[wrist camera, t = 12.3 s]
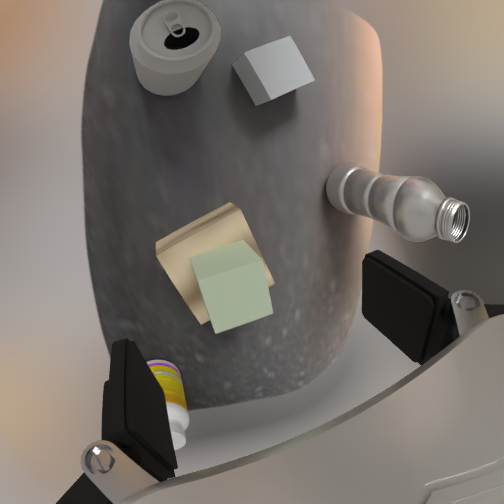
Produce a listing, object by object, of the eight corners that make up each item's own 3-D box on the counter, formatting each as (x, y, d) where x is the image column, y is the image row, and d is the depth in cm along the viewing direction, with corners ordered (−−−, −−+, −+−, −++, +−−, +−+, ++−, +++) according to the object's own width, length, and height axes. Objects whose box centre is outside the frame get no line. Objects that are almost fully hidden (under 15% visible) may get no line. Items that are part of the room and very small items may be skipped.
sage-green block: (189, 256, 30) (197, 280, 25) (243, 240, 31) (262, 259, 26) (204, 303, 32) (215, 333, 27) (253, 287, 34) (273, 313, 28)
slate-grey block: (231, 65, 29) (243, 52, 24) (272, 48, 29) (290, 35, 25) (255, 106, 31) (271, 99, 27) (295, 87, 32) (315, 80, 27)
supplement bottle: (145, 352, 37) (149, 422, 26) (186, 364, 40) (203, 431, 29) (131, 382, 38) (134, 449, 27) (171, 392, 41) (183, 457, 30)
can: (154, 109, 28) (153, 85, 17) (125, 59, 25) (112, 15, 14) (212, 78, 29) (242, 44, 18) (184, 30, 25) (200, -21, 15)
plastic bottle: (360, 166, 38) (481, 191, 20) (353, 211, 40) (466, 258, 22) (323, 158, 36) (450, 178, 18) (316, 207, 38) (433, 259, 20)
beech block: (155, 241, 33) (155, 256, 29) (229, 201, 35) (240, 209, 30) (194, 304, 38) (201, 324, 33) (260, 267, 39) (274, 283, 34)
